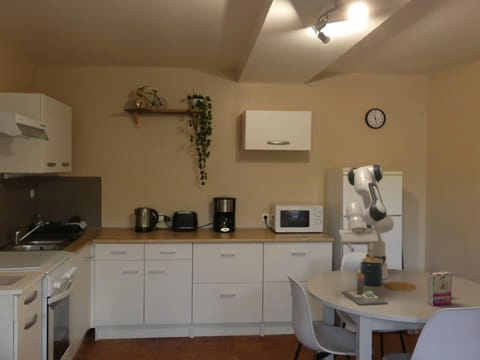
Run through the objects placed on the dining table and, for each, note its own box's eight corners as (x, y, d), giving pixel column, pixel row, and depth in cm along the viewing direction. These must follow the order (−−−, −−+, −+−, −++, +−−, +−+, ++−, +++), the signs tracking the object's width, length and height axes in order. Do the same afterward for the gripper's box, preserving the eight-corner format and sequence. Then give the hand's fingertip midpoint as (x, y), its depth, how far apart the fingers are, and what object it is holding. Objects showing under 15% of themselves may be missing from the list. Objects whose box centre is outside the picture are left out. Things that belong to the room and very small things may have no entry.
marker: (355, 293, 238) (356, 273, 238) (361, 293, 239) (362, 273, 239) (358, 295, 235) (359, 275, 235) (364, 295, 236) (365, 274, 235)
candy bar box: (444, 301, 229) (445, 271, 229) (451, 304, 224) (452, 273, 224) (426, 303, 226) (427, 272, 226) (433, 306, 222) (434, 274, 221)
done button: (364, 296, 228) (365, 290, 228) (371, 296, 228) (371, 290, 228) (368, 298, 224) (368, 292, 224) (374, 298, 225) (374, 292, 225)
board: (341, 292, 242) (341, 286, 242) (367, 291, 245) (368, 286, 245) (359, 305, 220) (359, 299, 220) (388, 304, 223) (388, 297, 223)
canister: (378, 287, 254) (379, 257, 253) (356, 284, 261) (357, 254, 260) (385, 283, 264) (385, 254, 264) (364, 279, 272) (364, 251, 271)
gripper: (339, 225, 238) (343, 248, 230) (376, 225, 238) (381, 248, 230) (337, 231, 243) (340, 254, 235) (373, 231, 243) (378, 253, 235)
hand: (361, 251), depth 232 cm, fingers open, 8 cm apart
